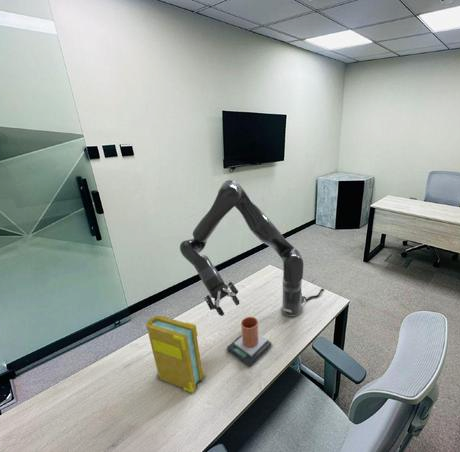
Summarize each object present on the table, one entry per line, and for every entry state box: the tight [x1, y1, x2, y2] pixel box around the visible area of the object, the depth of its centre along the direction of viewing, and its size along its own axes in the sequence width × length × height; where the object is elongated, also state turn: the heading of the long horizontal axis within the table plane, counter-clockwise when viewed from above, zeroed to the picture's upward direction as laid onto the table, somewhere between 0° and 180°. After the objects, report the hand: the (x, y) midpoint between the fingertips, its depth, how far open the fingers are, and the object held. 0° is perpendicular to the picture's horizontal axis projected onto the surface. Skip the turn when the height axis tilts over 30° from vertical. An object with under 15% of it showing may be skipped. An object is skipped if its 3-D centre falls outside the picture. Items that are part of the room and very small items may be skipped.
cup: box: [240, 316, 259, 348], centre depth 110 cm, size 7×7×10 cm
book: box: [145, 315, 205, 394], centre depth 95 cm, size 17×7×25 cm, turn 71°
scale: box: [226, 333, 272, 367], centre depth 112 cm, size 13×13×3 cm
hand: (230, 309), depth 115 cm, fingers open, 8 cm apart
